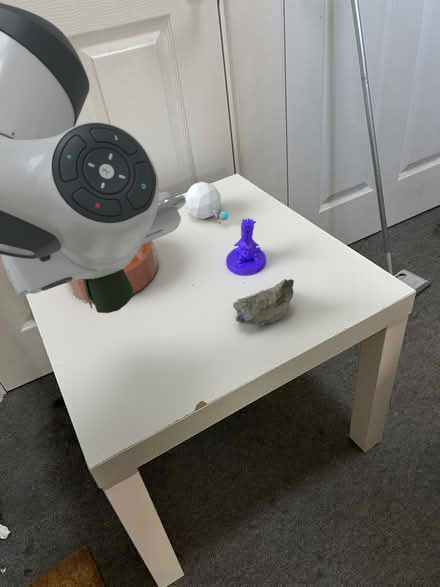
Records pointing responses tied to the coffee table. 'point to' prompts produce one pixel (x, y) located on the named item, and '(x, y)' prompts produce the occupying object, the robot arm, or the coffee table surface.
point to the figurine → (246, 253)
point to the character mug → (108, 291)
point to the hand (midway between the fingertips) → (95, 256)
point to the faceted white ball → (204, 201)
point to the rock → (265, 304)
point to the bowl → (128, 271)
